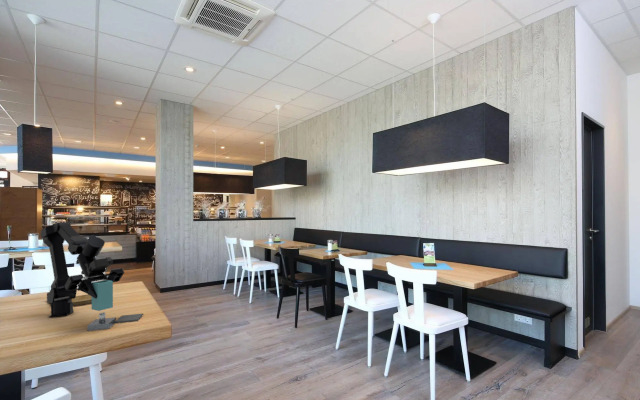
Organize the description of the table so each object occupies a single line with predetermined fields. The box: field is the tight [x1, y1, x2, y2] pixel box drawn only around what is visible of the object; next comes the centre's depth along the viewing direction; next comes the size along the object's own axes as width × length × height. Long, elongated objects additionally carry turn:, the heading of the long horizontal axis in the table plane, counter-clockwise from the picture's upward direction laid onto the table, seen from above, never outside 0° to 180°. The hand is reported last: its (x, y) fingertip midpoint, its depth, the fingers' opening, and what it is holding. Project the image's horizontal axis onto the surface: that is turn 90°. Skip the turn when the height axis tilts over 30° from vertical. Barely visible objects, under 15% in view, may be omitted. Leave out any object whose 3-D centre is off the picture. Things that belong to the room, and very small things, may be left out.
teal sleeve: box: [91, 280, 114, 312], centre depth 121 cm, size 5×5×10 cm
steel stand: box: [87, 311, 117, 332], centre depth 121 cm, size 7×7×5 cm
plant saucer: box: [72, 294, 92, 307], centre depth 157 cm, size 15×15×3 cm
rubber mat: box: [115, 313, 144, 324], centre depth 129 cm, size 8×8×1 cm
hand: (104, 295), depth 121 cm, fingers closed on teal sleeve, 5 cm apart
